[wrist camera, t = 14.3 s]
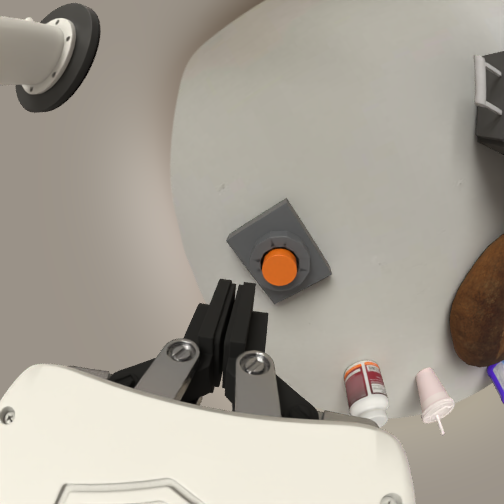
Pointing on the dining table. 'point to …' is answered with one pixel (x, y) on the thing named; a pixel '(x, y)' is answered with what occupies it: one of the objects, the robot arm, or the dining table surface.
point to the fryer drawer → (490, 95)
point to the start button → (279, 267)
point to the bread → (481, 310)
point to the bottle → (497, 377)
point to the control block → (279, 236)
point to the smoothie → (433, 398)
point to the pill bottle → (366, 392)
